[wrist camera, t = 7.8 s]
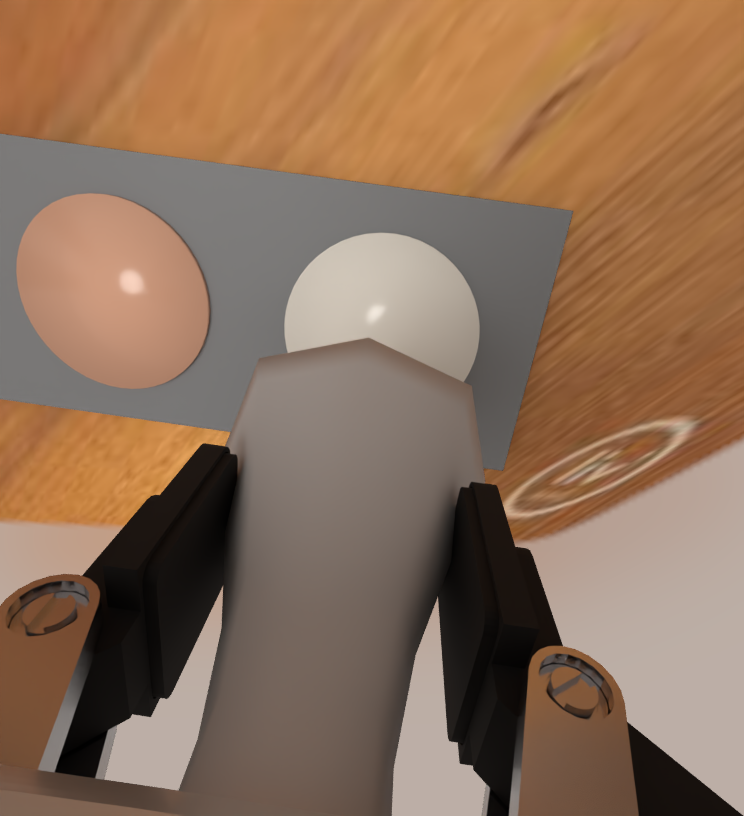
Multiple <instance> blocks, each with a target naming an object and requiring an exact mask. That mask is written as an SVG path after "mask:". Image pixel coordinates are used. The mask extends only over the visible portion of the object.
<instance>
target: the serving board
mask: <svg viewBox="0 0 744 816" xmlns="http://www.w3.org/2000/svg"><path fill="white" fill-rule="evenodd" d="M87 193H97V194H109V195H114V196H119V197H122V198H125V199H128V200H131V201H134V202H136V203H138V204H140V205H142V206H144V207H146V208H148V209H149V210H151V211H152V212H154V213H155V214H157V215H158V216H160V217H161V218H162V219H163V220H165V221H166V222H167V223H168V224H169V225H171V226H172V227H173V228H174V230H175V231H176V232H177V233H178V234H179V235H180V236H181V237H182V238H183V240H184V241H185V242H186V244H187V245H188V246H189V247H190V249H191V251H192V252H193V254H194V256H195V257H196V259H197V261H198V263H199V265H200V267H201V269H202V272H203V274H204V277H205V280H206V283H207V287H208V292H209V297H210V309H211V313H210V325H209V330H208V335H207V338H206V340H205V343H204V346H203V347H202V349H201V351H200V353H199V355H198V356H197V357H196V359H195V360H194V362H193V363H192V364H191V365H190V366H189V367H188V368H187V369H186V370H184V371H183V372H182V373H181V374H179V375H178V376H176V377H175V378H173V379H171V380H170V381H168V382H166V383H163V384H160V385H157V386H154V387H149V388H142V389H127V388H118V387H113V386H109V385H106V384H103V383H99V382H97V381H94V380H92V379H90V378H88V377H86V376H84V375H82V374H81V373H79V372H77V371H75V370H74V369H73V368H71V367H70V366H68V365H67V364H66V363H64V362H63V361H62V360H61V359H60V358H59V357H58V356H56V355H55V354H54V353H53V352H52V351H51V349H50V348H49V347H48V346H47V345H46V344H45V343H44V341H43V340H42V339H41V337H40V336H39V335H38V333H37V332H36V330H35V329H34V327H33V325H32V324H31V322H30V320H29V318H28V316H27V314H26V312H25V309H24V306H23V303H22V301H21V298H20V293H19V289H18V284H17V274H16V267H17V255H18V249H19V246H20V242H21V239H22V237H23V235H24V233H25V231H26V229H27V227H28V225H29V224H30V223H31V221H32V220H33V218H34V217H35V216H36V215H37V214H38V213H39V212H40V211H41V210H42V209H44V208H45V207H47V206H48V205H50V204H51V203H53V202H55V201H57V200H60V199H62V198H64V197H68V196H72V195H76V194H87ZM572 214H573V211H570V210H562V209H555V208H547V207H540V206H533V205H525V204H518V203H510V202H503V201H495V200H488V199H480V198H473V197H466V196H458V195H451V194H443V193H436V192H428V191H421V190H414V189H406V188H399V187H391V186H384V185H376V184H369V183H362V182H354V181H347V180H339V179H332V178H324V177H317V176H310V175H302V174H295V173H287V172H280V171H272V170H265V169H258V168H250V167H243V166H235V165H228V164H220V163H213V162H206V161H198V160H191V159H183V158H176V157H168V156H161V155H154V154H146V153H139V152H131V151H124V150H116V149H109V148H102V147H94V146H87V145H79V144H72V143H64V142H57V141H49V140H42V139H35V138H27V137H20V136H12V135H5V134H0V399H4V400H11V401H18V402H25V403H32V404H39V405H46V406H53V407H60V408H67V409H74V410H81V411H88V412H95V413H102V414H109V415H116V416H123V417H130V418H137V419H144V420H151V421H158V422H165V423H172V424H179V425H186V426H193V427H200V428H207V429H214V430H221V431H228V432H231V430H232V427H233V425H234V422H235V420H236V417H237V414H238V412H239V409H240V407H241V404H242V401H243V399H244V396H245V394H246V391H247V388H248V386H249V383H250V381H251V378H252V375H253V373H254V370H255V367H256V365H257V362H258V360H259V358H263V357H268V356H274V355H279V354H284V353H288V351H287V348H286V341H285V330H284V322H285V313H286V308H287V304H288V300H289V297H290V295H291V292H292V290H293V287H294V285H295V283H296V282H297V280H298V278H299V277H300V275H301V274H302V272H303V271H304V270H305V269H306V267H307V266H308V265H309V264H310V263H311V262H312V261H313V260H314V259H315V258H316V257H317V256H318V255H320V254H321V253H322V252H324V251H325V250H326V249H328V248H329V247H331V246H333V245H335V244H337V243H338V242H340V241H342V240H345V239H348V238H351V237H353V236H357V235H362V234H367V233H379V232H384V233H396V234H401V235H406V236H409V237H412V238H415V239H418V240H421V241H423V242H425V243H426V244H428V245H430V246H432V247H434V248H435V249H437V250H438V251H439V252H441V253H442V254H444V255H445V256H446V257H447V258H448V259H449V260H450V261H451V262H452V263H453V264H454V265H455V266H456V267H457V269H458V270H459V271H460V272H461V274H462V275H463V277H464V279H465V280H466V282H467V284H468V285H469V287H470V289H471V292H472V294H473V296H474V299H475V302H476V306H477V310H478V315H479V324H480V334H479V344H478V350H477V353H476V357H475V360H474V363H473V365H472V368H471V370H470V372H469V374H468V376H467V377H466V379H465V381H464V383H466V384H469V385H471V386H472V392H473V399H474V406H475V413H476V420H477V427H478V434H479V441H480V448H481V455H482V462H483V468H487V469H494V470H501V471H503V469H504V465H505V462H506V458H507V454H508V451H509V447H510V443H511V439H512V436H513V432H514V428H515V425H516V421H517V417H518V414H519V410H520V406H521V402H522V399H523V395H524V391H525V388H526V384H527V380H528V377H529V373H530V369H531V365H532V362H533V358H534V354H535V351H536V347H537V343H538V340H539V336H540V332H541V328H542V325H543V321H544V317H545V314H546V310H547V306H548V303H549V299H550V295H551V292H552V288H553V284H554V280H555V277H556V273H557V269H558V266H559V262H560V258H561V255H562V251H563V247H564V243H565V240H566V236H567V232H568V229H569V225H570V221H571V218H572Z"/></svg>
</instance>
